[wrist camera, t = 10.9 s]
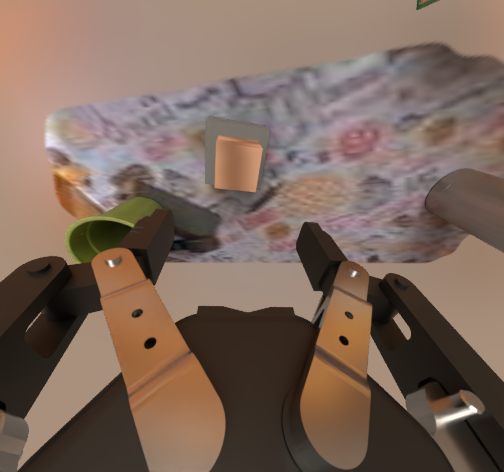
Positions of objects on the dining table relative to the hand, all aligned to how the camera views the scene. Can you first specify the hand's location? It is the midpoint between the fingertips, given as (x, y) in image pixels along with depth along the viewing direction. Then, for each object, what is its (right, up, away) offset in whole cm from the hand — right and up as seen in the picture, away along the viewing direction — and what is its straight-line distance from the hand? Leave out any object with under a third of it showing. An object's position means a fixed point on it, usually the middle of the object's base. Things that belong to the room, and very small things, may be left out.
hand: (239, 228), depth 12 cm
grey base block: (-2, +13, +18) cm, 22 cm away
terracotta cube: (-1, +10, +14) cm, 17 cm away
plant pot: (-19, +4, +23) cm, 30 cm away
